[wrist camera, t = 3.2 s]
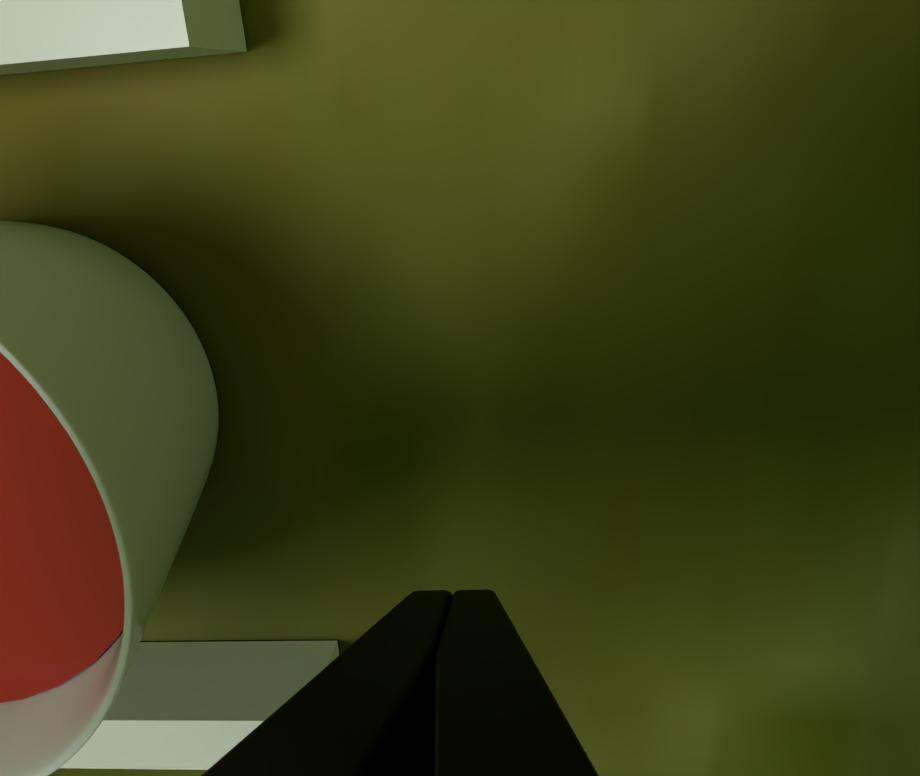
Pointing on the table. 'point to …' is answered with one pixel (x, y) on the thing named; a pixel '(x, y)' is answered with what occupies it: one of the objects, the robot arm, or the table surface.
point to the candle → (87, 478)
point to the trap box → (163, 663)
